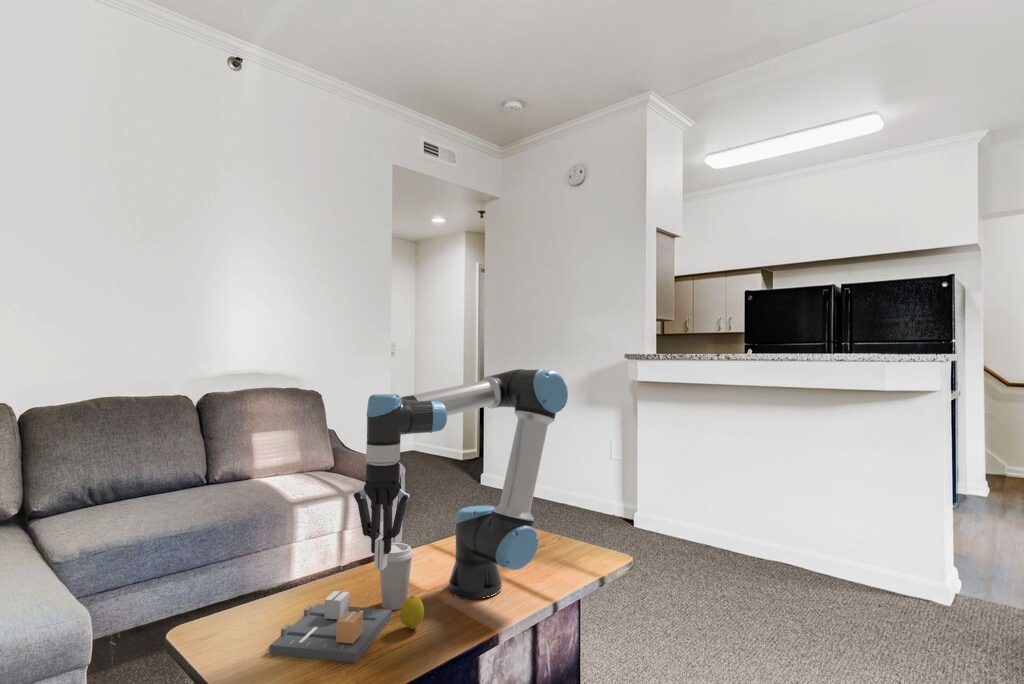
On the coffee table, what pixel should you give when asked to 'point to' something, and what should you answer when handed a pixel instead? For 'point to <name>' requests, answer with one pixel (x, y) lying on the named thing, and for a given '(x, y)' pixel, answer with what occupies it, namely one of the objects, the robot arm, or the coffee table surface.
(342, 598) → the fader grey
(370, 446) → the robot arm
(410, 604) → the lemon
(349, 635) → the fader orange
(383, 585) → the coffee cup
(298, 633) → the console
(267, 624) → the coffee table surface
